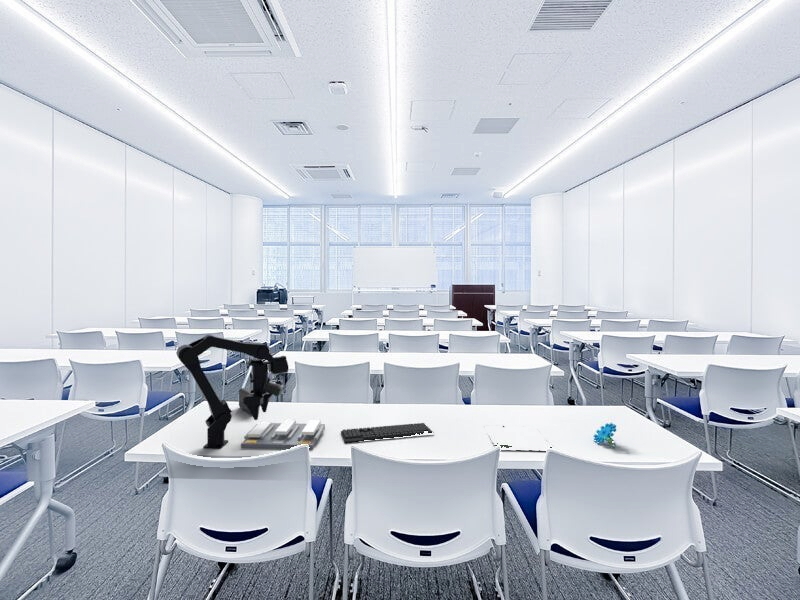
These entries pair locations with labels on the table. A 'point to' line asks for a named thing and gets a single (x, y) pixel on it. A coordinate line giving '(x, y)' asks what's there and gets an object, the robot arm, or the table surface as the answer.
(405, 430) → the keyboard
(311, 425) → the key
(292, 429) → the switch panel
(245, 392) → the leaning round-cornered charcoal block
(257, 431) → the key
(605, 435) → the blue flower
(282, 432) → the key middle
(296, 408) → the table surface
